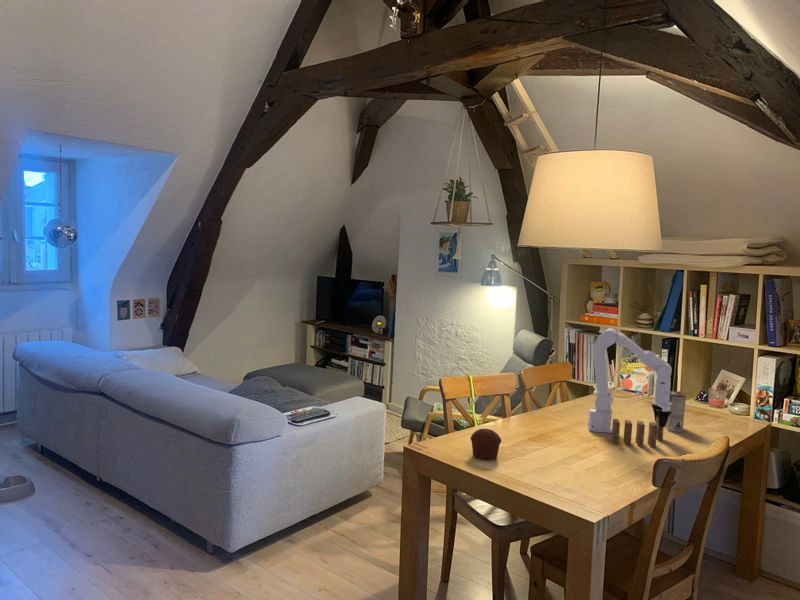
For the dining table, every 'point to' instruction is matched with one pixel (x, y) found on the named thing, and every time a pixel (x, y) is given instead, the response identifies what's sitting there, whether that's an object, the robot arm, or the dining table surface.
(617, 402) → the dining table surface
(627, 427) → the domino
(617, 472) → the dining table surface
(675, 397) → the coffee box
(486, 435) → the muffin
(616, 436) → the domino
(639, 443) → the domino
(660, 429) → the domino
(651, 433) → the domino
